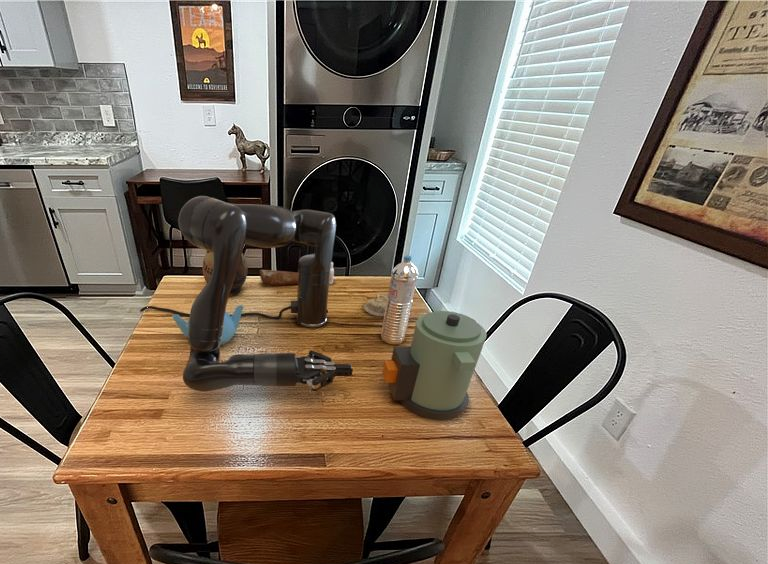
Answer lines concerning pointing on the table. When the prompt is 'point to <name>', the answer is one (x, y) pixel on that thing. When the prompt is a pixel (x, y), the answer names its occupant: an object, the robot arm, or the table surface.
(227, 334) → the teapot
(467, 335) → the kettle
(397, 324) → the water bottle
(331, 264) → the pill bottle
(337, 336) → the table surface
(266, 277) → the bread
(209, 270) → the ceramic jug
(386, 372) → the switch
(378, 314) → the cake
